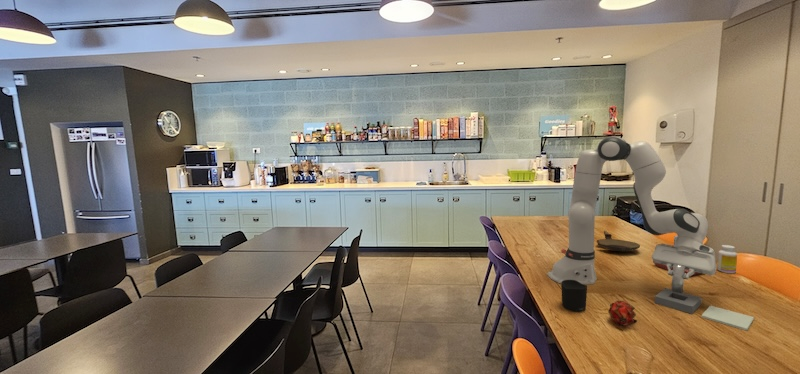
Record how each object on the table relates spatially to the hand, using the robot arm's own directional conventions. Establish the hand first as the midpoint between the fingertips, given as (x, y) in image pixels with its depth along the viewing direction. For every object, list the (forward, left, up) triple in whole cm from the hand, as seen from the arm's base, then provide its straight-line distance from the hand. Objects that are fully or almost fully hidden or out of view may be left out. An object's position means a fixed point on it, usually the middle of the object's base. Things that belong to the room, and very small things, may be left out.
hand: (677, 276), depth 134 cm
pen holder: (-41, +5, -12) cm, 43 cm away
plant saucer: (+36, +32, -12) cm, 50 cm away
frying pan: (+29, +68, -12) cm, 75 cm away
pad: (+8, -13, -12) cm, 19 cm away
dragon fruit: (-31, -9, -12) cm, 35 cm away
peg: (0, 0, -6) cm, 6 cm away
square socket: (+1, 0, -12) cm, 12 cm away
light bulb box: (+57, +51, -12) cm, 77 cm away
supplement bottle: (+53, +25, -12) cm, 60 cm away
